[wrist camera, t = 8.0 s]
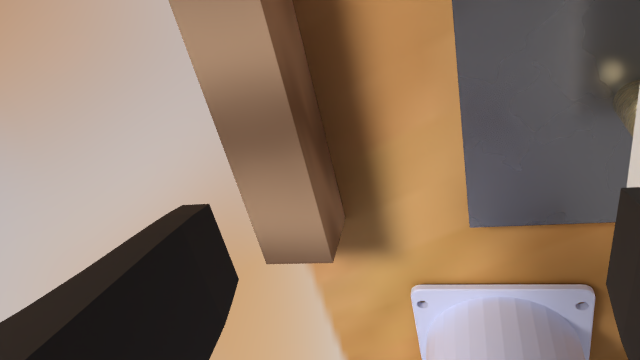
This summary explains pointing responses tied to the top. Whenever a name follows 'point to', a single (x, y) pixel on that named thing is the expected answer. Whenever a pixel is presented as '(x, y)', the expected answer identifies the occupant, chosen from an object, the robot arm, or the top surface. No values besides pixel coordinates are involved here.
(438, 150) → the top surface
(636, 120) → the board
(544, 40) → the plate
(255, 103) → the brown rectangular block
